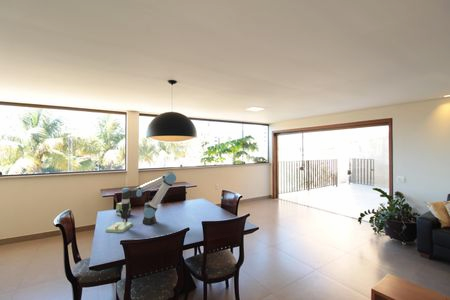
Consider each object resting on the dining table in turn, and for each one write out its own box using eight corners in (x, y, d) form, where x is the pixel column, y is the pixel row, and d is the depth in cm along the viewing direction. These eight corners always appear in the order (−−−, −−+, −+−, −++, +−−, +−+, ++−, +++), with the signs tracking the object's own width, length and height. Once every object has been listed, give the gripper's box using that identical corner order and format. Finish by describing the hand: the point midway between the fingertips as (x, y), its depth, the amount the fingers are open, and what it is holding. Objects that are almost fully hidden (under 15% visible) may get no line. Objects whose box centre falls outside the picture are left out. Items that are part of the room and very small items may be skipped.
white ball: (116, 228, 224) (119, 226, 224) (115, 229, 220) (117, 227, 220) (115, 225, 224) (117, 223, 224) (113, 226, 221) (115, 224, 221)
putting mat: (132, 225, 233) (132, 222, 233) (122, 232, 211) (122, 229, 211) (117, 224, 233) (117, 221, 234) (105, 231, 211) (105, 229, 212)
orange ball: (119, 228, 215) (119, 224, 215) (117, 229, 211) (117, 226, 211) (115, 228, 215) (115, 224, 215) (113, 229, 211) (114, 225, 211)
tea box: (115, 214, 268) (115, 203, 268) (122, 212, 277) (122, 201, 277) (123, 216, 261) (124, 204, 262) (130, 214, 271) (130, 203, 271)
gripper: (133, 202, 226) (133, 223, 225) (121, 201, 226) (121, 223, 226) (129, 203, 218) (129, 226, 218) (117, 203, 219) (117, 226, 219)
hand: (125, 224), depth 222 cm, fingers closed
